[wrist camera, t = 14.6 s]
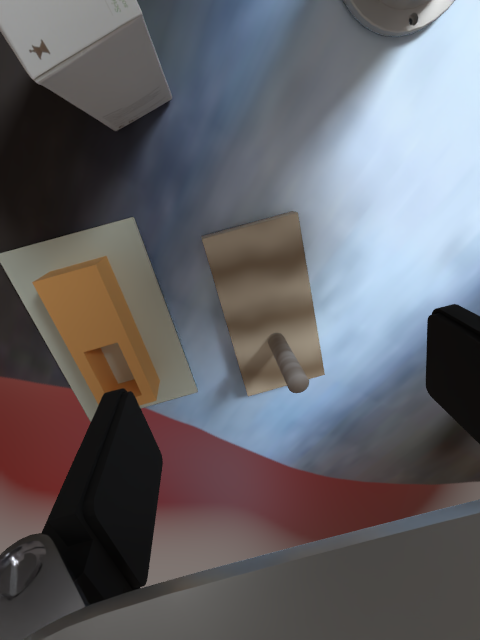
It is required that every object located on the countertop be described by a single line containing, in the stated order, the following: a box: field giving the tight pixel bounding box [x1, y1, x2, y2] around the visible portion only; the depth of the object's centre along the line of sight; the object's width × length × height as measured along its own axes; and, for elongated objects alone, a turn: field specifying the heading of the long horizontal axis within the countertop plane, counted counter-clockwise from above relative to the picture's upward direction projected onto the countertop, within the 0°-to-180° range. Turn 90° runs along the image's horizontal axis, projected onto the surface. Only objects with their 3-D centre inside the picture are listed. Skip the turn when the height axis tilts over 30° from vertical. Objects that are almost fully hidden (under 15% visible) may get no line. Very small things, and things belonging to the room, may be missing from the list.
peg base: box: [202, 211, 325, 396], centre depth 33 cm, size 20×10×11 cm, turn 14°
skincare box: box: [0, 0, 172, 131], centre depth 21 cm, size 8×7×16 cm
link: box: [32, 256, 160, 406], centre depth 35 cm, size 16×6×4 cm, turn 14°
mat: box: [0, 217, 198, 422], centre depth 37 cm, size 22×14×1 cm, turn 14°
